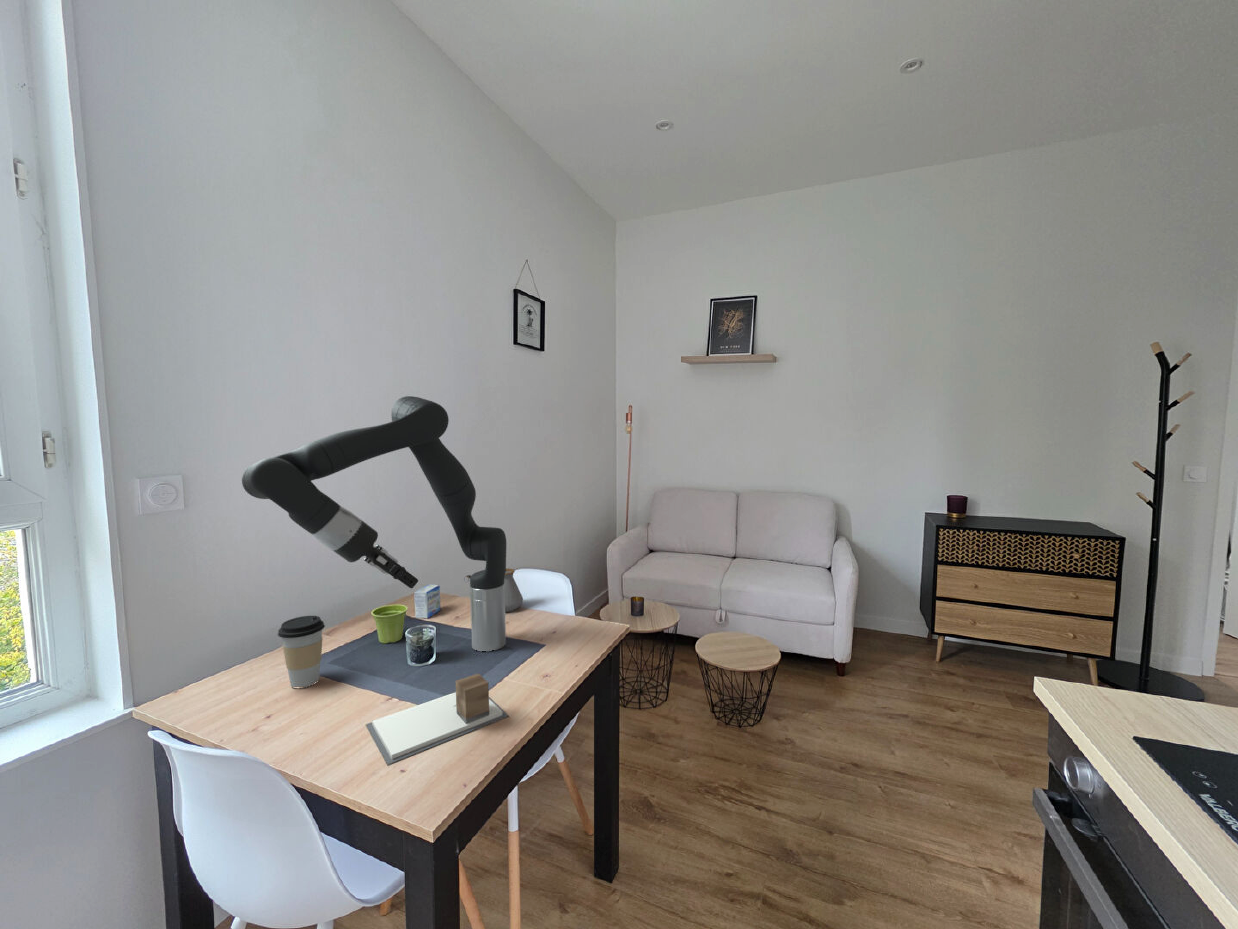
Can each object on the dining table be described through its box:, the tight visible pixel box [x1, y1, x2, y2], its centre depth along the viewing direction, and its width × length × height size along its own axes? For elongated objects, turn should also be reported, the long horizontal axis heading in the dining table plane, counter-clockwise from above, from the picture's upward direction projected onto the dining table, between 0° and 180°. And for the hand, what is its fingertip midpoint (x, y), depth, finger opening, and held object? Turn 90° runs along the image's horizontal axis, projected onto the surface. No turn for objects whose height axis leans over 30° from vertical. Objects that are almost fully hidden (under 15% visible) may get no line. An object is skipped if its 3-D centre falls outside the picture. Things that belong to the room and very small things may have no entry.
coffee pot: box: [463, 567, 524, 613], centre depth 165 cm, size 21×12×15 cm, turn 143°
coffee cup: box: [277, 615, 325, 688], centre depth 120 cm, size 9×9×15 cm
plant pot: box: [371, 604, 408, 644], centre depth 145 cm, size 9×9×9 cm
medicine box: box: [413, 584, 441, 620], centre depth 164 cm, size 8×4×9 cm, turn 168°
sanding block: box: [455, 673, 490, 724], centre depth 105 cm, size 5×5×7 cm
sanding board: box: [365, 691, 510, 766], centre depth 104 cm, size 16×24×1 cm, turn 129°
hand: (408, 579), depth 106 cm, fingers open, 8 cm apart
